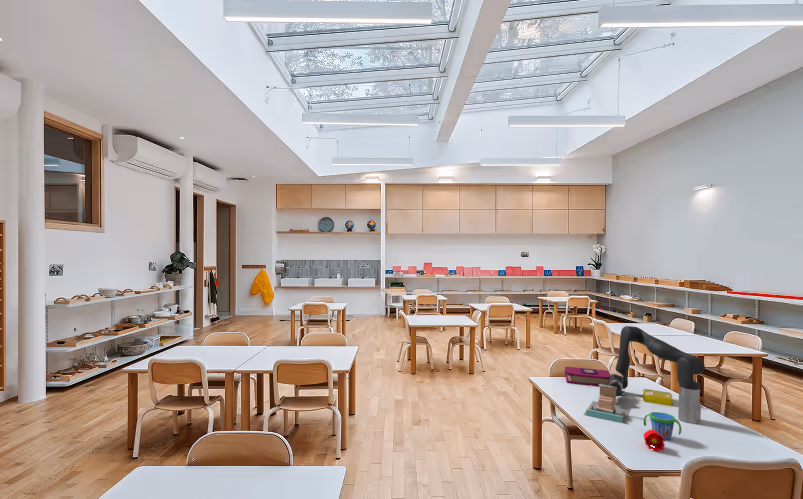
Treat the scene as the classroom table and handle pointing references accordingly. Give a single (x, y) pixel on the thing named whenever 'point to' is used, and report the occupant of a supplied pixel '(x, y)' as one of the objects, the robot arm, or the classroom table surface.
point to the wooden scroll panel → (607, 399)
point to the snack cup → (663, 424)
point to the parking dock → (618, 410)
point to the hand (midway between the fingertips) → (610, 395)
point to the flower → (654, 440)
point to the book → (586, 376)
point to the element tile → (657, 397)
